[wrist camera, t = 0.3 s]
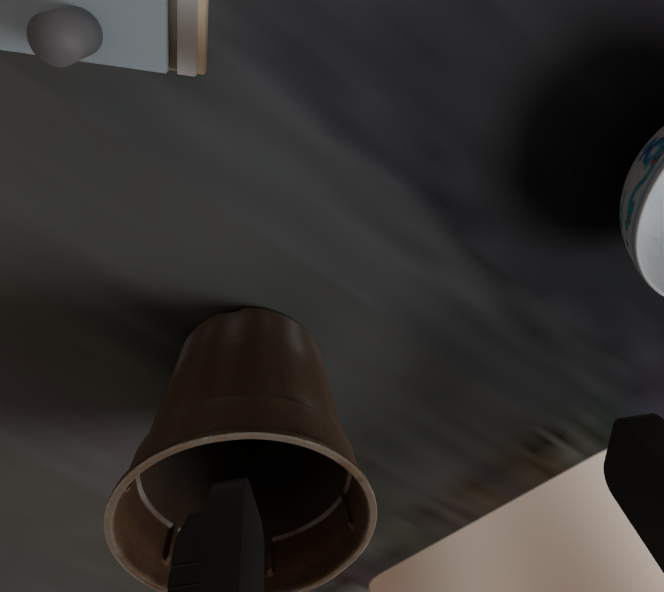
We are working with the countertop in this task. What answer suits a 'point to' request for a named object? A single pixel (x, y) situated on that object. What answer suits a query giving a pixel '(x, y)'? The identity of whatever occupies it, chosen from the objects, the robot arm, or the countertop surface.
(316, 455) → the plant pot
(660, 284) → the chinaware
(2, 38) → the carriage
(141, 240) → the countertop surface
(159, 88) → the countertop surface
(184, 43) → the rail base
